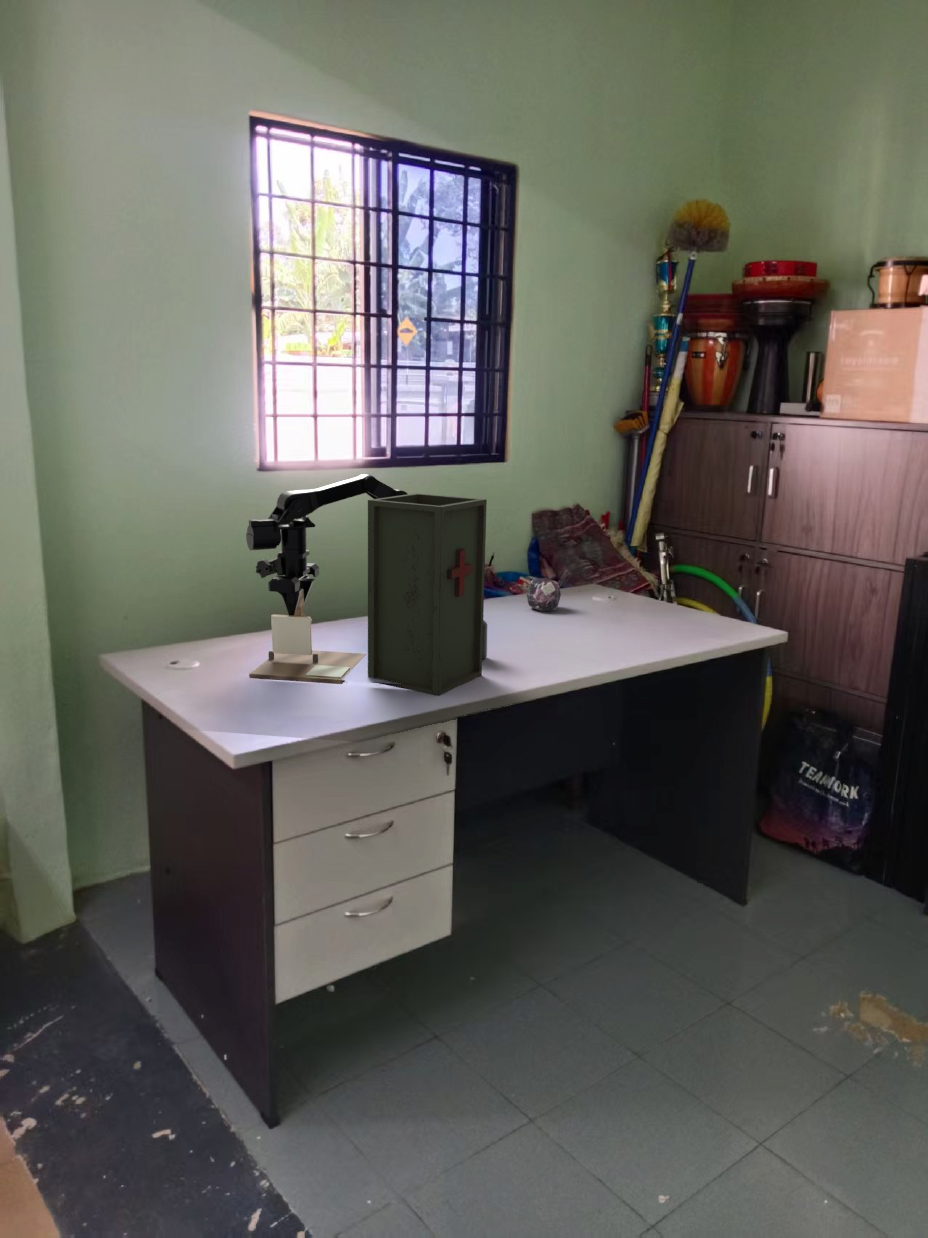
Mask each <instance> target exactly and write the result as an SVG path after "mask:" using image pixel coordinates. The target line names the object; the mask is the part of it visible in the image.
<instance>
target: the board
mask: <svg viewBox="0 0 928 1238" xmlns="http://www.w3.org/2000/svg"><path fill="white" fill-rule="evenodd" d="M366 655H367V653H359V652H358V653H357V652H347V651H346V652H345V651H344V652H343V651H330V650H329V651H328V650H327V651H326V650H324V651H323V650H314V649H312V654H311V655H295V654H279V653H273V650H268V659H266V660H265V661H264V662H263V663H262V664H260V665H259V666H258V667H256V668H255V669H253V670H252V671H251V672H250V673H248V675H249V679H258V680H272V681H273V680H275V681H286V682H287V681H289V682H290V681H291V682H304V683H316V684H318V683H319V684H320V683H321V684H332V685H333V684H335V685H342V684H344V682H346V680H345V679H344V678H345V677H346V676H347V675H348V674H349V673H350V672H351V671H352V670H353V669H354V668H355V667H356V665H358V663H359V662H360V661H361V660H362V659H364V657H365V656H366Z"/></svg>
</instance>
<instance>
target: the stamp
mask: <svg viewBox="0 0 928 1238" xmlns="http://www.w3.org/2000/svg"><path fill="white" fill-rule="evenodd" d="M294 616H305V604H304V589H303V590H302V593H301V596H300V599H299V603H298V606H297V609H296V612H295V615H294ZM312 623H313V619H312V618H311V624H312Z"/></svg>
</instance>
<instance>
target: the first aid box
mask: <svg viewBox="0 0 928 1238" xmlns="http://www.w3.org/2000/svg"><path fill="white" fill-rule="evenodd" d="M487 501H488V500H487V499H486V498H474V497H462V496H461V497H460V496H451V495H440V494H430V493H419V492H417V493H409V494H408V493H407V495H400V496H393V497H386V498H379V499H373V498H371V499H368V500H367V677H368V678H371V679H377V680H381V681H385V682H377V681H373V683H374V684H379V685H385V686H389V687H393V688H399V689H402V690H403V689H404V690H408V691H413V692H417V693H423V694H427V695H431V696H432V695H433V696H438V697H439V696H441V695H443V694H445V693H448V692H450V691H452V690H454V689H456V688H458V687H460V686H463V685H464V684H467V683H469V682H470V681H473V680H475V679H477V678H479V677H481V676H482V675H483V674H482V673H483V660H482V647H483V620H484V618H483V615H484V607H485V606H484V604H485V602H484V601H485V574H486V573H485V567H486V566H485V565H486V564H485V563H486V535H487V534H486V532H487V531H486V529H487ZM389 682H390V683H389Z"/></svg>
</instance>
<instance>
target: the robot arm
mask: <svg viewBox="0 0 928 1238" xmlns="http://www.w3.org/2000/svg"><path fill="white" fill-rule="evenodd" d="M364 494H366V495H367V496H369V497H370V498H371V499H379V498H386V497H393V496H400V495H407V494H408V492H406V491H404V490H403V489H397V488H393V487H392V486H389V485H387V484H386V483H384V482H382V481H380V480H379V479H377V478H376V477H375V476H373V475H370V474H367V473H366V474H365V473H363V474H362V473H361V474H360V475H358V476H355V477H352V478H349V479H345V480H341V481H337V482H335V483H331V484H326V485H324V486H321V487H318V488H317V487H316V488H312V489H295V490H287V491H286V490H285V491H283V492H282V493H280V494H279V496H278V498H277V501H276V506H275V507H274V509H273V510H272V512H271V514H270V515H269V516H268V519H249V520H248V526H247V529H246V533H245V537H246V545H247V548H248V549H249V551H261V550H262V551H265V550H276V549H277V548H278V547H279V546H280V547H281V550H280V551H279V552H278V553H277V557H275V558H270V559H266V558H264V559H261V560H258V561H257V563H256V566H255V569H256V570H255V573H256V574H258V575H259V577H260V578H261V579H265V578H266V577H268V576H272V575H274V574H276V576H274V577H273V578H271V579H270V580H269V581H268V585H267V587H268V591H269V592H275V593H279V594H280V596H282V599H283V602H284V605H285V608H286V611H287V613H288V615H292V616H294V615H295V612H296V609H297V606H298V603H299V599H300V596H301V593H302V590H303V589H304V605H305V603H306V601H307V599H308V596H309V594H310V592H311V589H312V587H313V585H314V583H315V581H316V579H315V578H317V577H318V576H320V567H319V566H318V564H317V563H316V562H315V563H314V562H308V556H310V549H307V544H308V543H307V529H309V528H315V527H316V524H315V523H314V522H312V521H311V519H310V517H309V516H308V515H310V514H313V513H314V512H315V511H317V510H318V509H319V508H321V507H323V506H326V505H330V504H333V503H336V502H339V501H343V500H346V499H351V498H353V497H356V496H361V495H364ZM310 575H312V576H313V578H310Z"/></svg>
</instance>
